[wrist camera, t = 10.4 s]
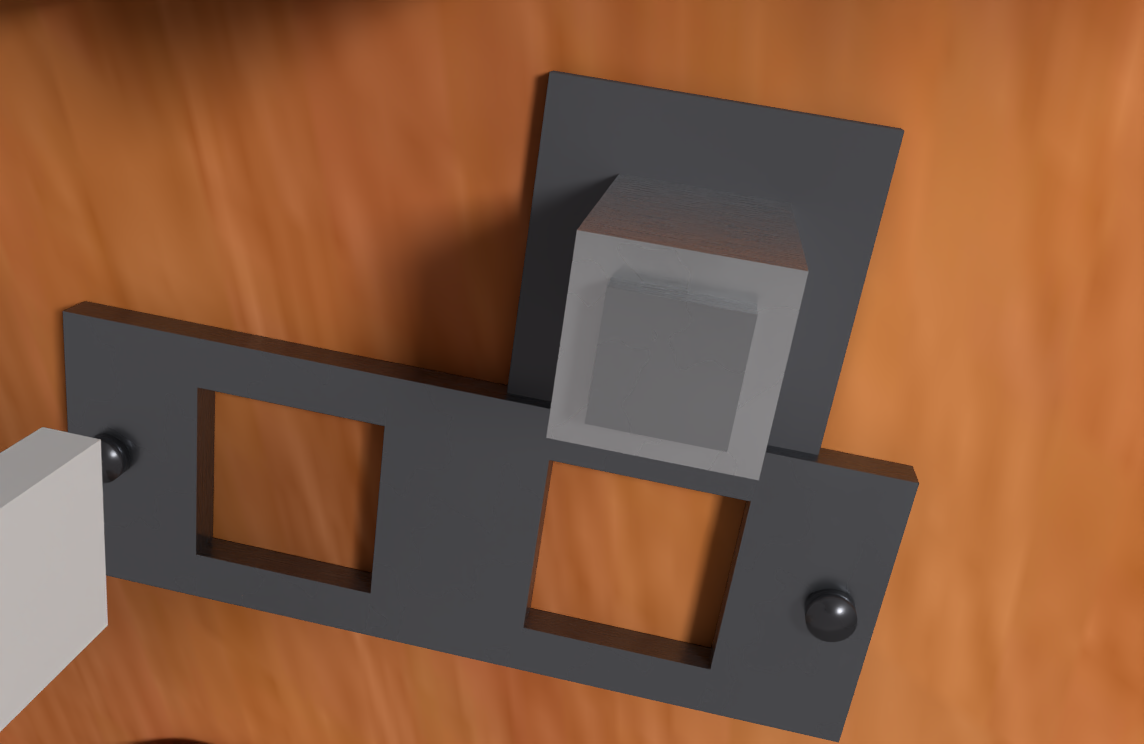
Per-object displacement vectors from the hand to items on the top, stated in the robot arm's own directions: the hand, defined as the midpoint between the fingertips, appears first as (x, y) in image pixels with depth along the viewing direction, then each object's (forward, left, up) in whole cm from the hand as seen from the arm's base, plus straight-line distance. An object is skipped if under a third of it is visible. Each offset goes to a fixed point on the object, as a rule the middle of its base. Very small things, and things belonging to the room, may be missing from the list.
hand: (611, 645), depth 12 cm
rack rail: (+10, -6, -20) cm, 23 cm away
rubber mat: (0, 0, -20) cm, 20 cm away
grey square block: (0, 0, -19) cm, 19 cm away
